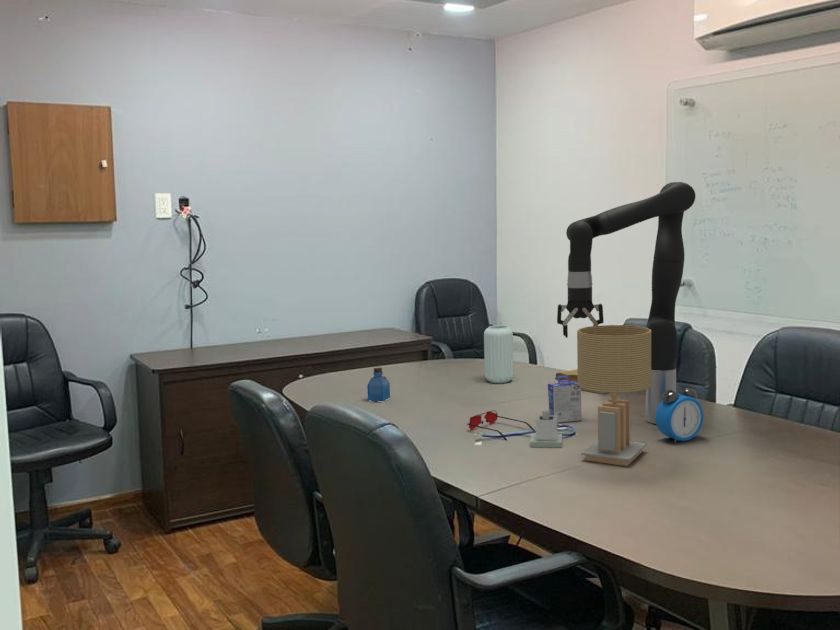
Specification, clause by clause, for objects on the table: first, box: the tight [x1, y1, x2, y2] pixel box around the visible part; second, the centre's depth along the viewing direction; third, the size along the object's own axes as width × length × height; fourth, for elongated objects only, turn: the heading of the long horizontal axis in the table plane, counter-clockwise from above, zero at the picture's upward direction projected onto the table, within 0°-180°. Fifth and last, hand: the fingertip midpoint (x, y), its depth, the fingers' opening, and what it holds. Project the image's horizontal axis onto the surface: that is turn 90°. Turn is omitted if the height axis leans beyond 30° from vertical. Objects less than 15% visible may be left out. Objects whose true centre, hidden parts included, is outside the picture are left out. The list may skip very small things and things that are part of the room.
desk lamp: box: [576, 324, 651, 467], centre depth 218 cm, size 20×20×35 cm
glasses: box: [466, 410, 536, 441], centre depth 250 cm, size 14×16×5 cm
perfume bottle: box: [367, 367, 391, 402], centre depth 296 cm, size 6×6×12 cm
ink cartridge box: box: [547, 375, 583, 424], centre depth 259 cm, size 10×6×14 cm, turn 102°
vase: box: [483, 324, 514, 384], centre depth 320 cm, size 12×12×22 cm
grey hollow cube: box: [535, 414, 558, 441], centre depth 235 cm, size 6×6×6 cm
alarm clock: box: [655, 387, 705, 443], centre depth 233 cm, size 13×6×15 cm, turn 113°
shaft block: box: [529, 410, 563, 449], centre depth 235 cm, size 9×9×10 cm
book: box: [554, 368, 612, 396], centre depth 306 cm, size 25×17×6 cm
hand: (580, 337), depth 250 cm, fingers open, 8 cm apart
